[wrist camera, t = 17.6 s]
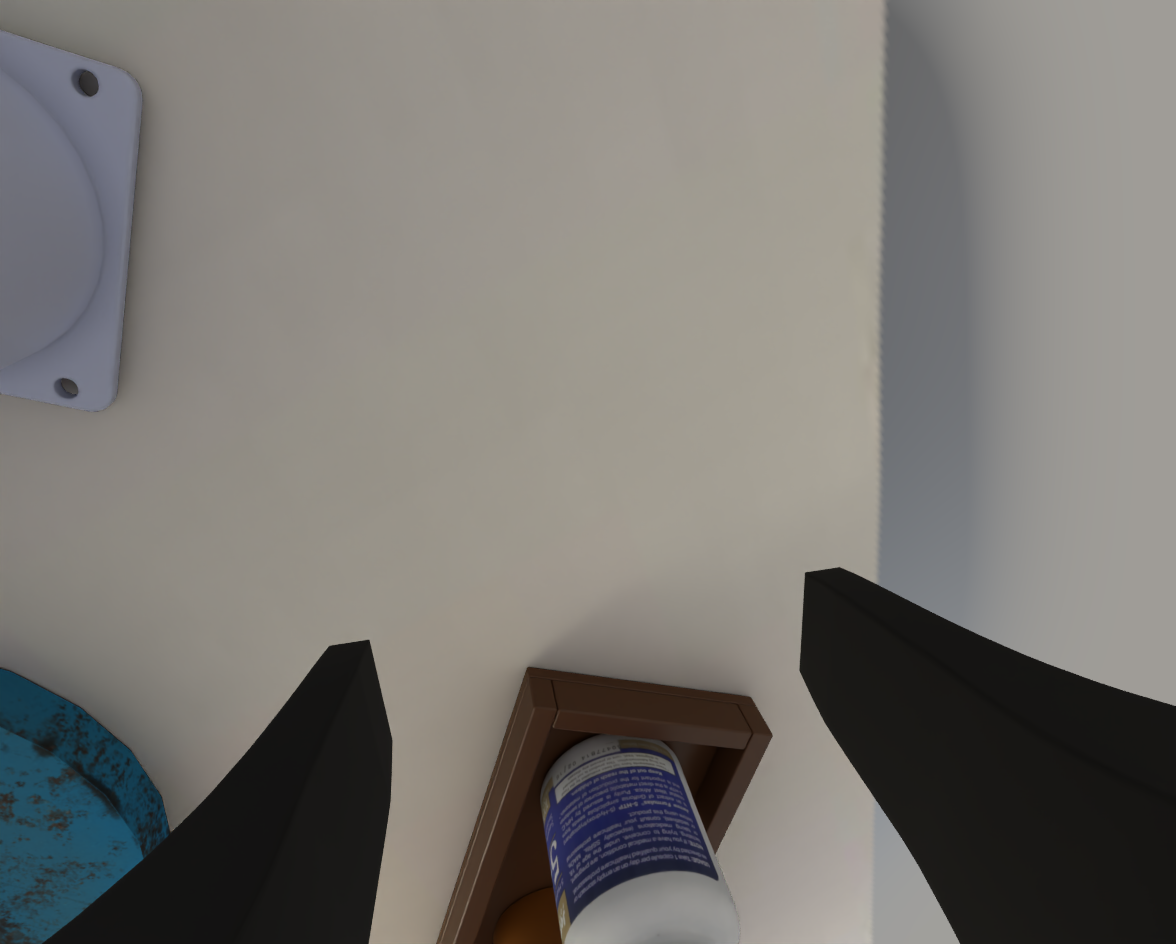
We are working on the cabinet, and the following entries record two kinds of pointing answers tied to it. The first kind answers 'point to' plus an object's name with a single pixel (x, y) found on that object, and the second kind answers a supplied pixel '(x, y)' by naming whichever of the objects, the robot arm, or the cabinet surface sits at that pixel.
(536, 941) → the amber bottle
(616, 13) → the cabinet surface
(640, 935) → the pill bottle
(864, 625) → the robot arm
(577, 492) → the cabinet surface
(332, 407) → the cabinet surface
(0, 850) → the desk lamp
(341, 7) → the cabinet surface
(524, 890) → the tray
